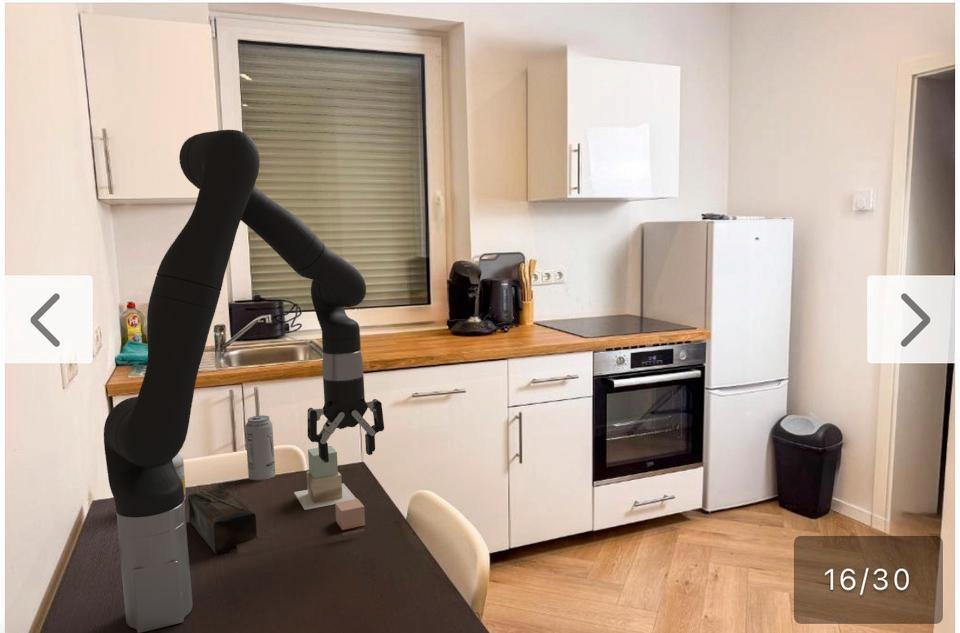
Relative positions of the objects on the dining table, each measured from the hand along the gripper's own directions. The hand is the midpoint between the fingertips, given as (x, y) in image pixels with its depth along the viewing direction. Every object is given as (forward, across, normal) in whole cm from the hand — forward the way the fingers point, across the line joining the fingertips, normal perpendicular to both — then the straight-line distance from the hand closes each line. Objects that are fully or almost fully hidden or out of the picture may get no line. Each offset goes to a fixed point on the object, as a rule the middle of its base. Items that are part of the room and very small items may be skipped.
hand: (347, 457), depth 131 cm
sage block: (+8, -1, +16) cm, 18 cm away
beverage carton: (+15, -23, +11) cm, 29 cm away
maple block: (+13, -1, +16) cm, 21 cm away
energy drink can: (+14, -11, +36) cm, 41 cm away
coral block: (+14, 0, 0) cm, 14 cm away
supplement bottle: (+14, -31, +32) cm, 47 cm away
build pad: (+14, -1, +16) cm, 22 cm away
